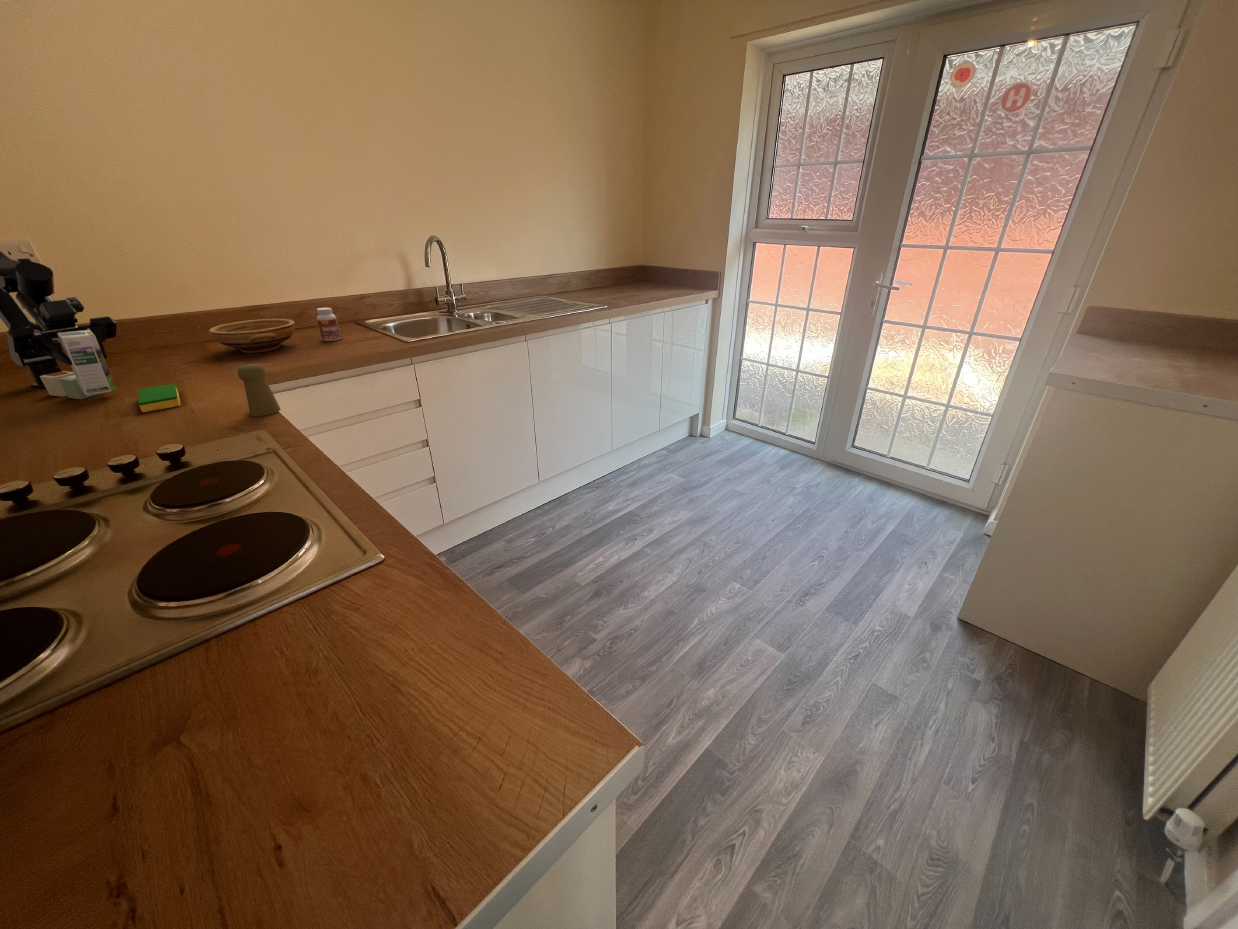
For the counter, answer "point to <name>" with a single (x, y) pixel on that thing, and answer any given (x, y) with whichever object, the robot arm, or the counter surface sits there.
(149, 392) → the dish sponge
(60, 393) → the cream letter block
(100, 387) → the syrup box
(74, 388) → the sage letter block
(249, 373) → the sage salt shaker
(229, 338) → the wooden bowl
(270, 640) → the counter surface
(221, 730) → the counter surface
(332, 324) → the pill bottle
